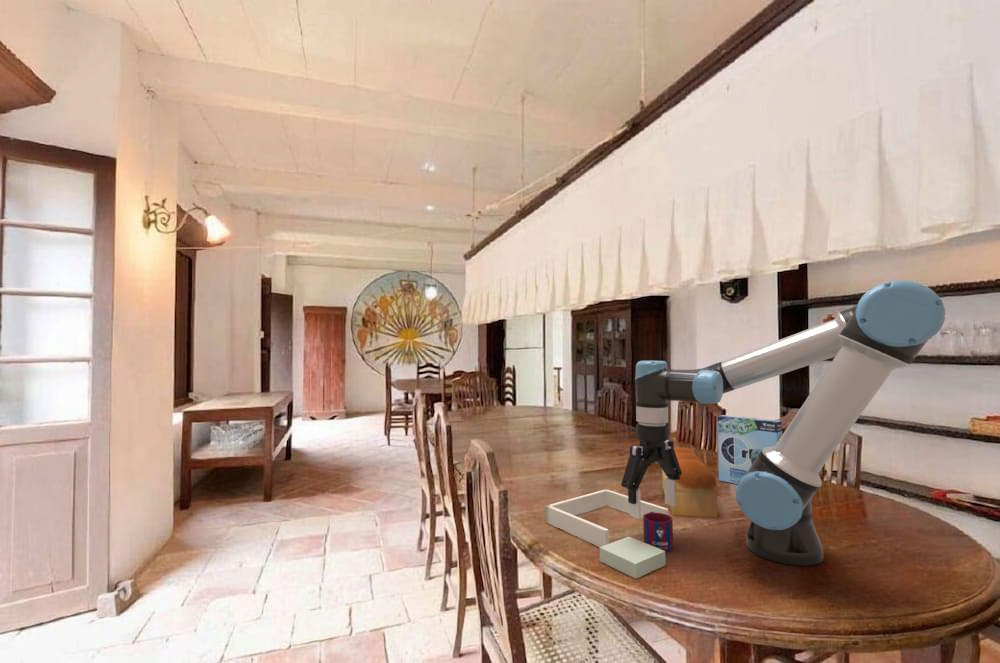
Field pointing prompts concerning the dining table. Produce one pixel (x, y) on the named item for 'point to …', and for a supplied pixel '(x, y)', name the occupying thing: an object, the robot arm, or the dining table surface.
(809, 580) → the dining table surface
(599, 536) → the white u-shaped frame
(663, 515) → the mug
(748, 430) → the gum box
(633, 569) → the stand
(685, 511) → the bread
